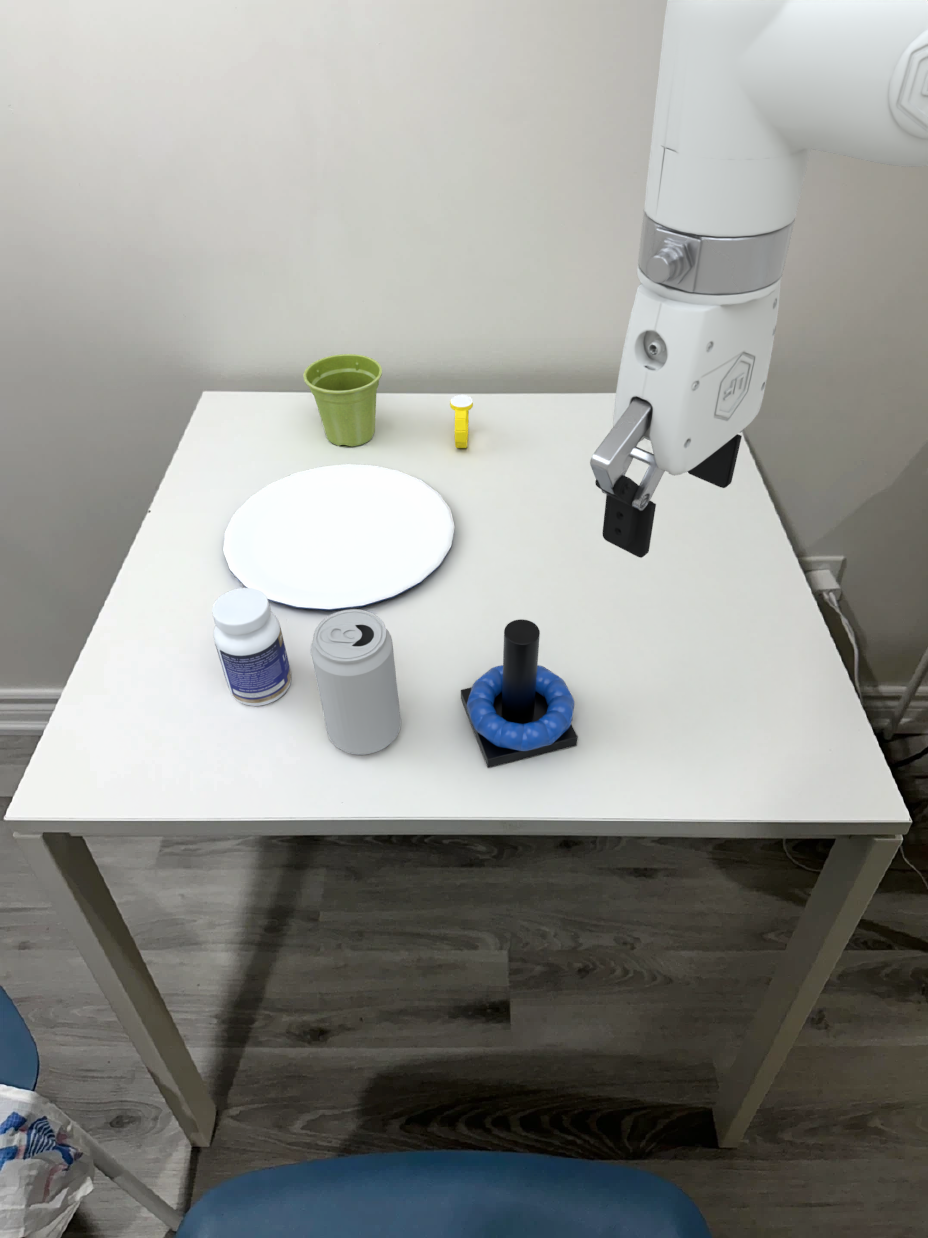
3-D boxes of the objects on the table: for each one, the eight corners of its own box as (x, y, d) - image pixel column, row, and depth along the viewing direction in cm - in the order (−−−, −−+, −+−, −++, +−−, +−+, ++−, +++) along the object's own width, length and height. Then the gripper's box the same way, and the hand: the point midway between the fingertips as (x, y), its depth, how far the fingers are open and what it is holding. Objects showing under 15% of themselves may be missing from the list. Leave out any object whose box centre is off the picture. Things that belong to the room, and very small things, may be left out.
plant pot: (299, 432, 108) (288, 369, 102) (360, 407, 112) (354, 345, 106) (339, 464, 103) (330, 400, 97) (402, 437, 107) (397, 374, 101)
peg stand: (544, 678, 78) (551, 588, 70) (577, 745, 72) (589, 656, 65) (460, 698, 76) (458, 608, 69) (487, 768, 71) (488, 679, 63)
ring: (550, 665, 78) (551, 648, 76) (588, 740, 71) (591, 724, 70) (455, 687, 76) (455, 670, 74) (486, 766, 70) (486, 750, 68)
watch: (452, 429, 108) (451, 387, 104) (474, 429, 108) (474, 387, 104) (449, 455, 104) (448, 412, 100) (472, 456, 104) (471, 413, 100)
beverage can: (398, 760, 72) (388, 664, 63) (322, 759, 72) (302, 663, 63) (404, 702, 76) (394, 605, 68) (332, 701, 76) (314, 604, 68)
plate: (183, 594, 87) (180, 585, 86) (278, 459, 104) (276, 450, 103) (419, 634, 82) (418, 625, 81) (477, 486, 100) (477, 477, 99)
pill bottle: (304, 685, 78) (288, 606, 71) (251, 718, 75) (228, 640, 68) (269, 652, 81) (250, 573, 74) (217, 683, 78) (191, 604, 71)
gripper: (682, 326, 38) (639, 604, 50) (856, 217, 47) (784, 476, 59) (551, 283, 42) (541, 550, 54) (735, 189, 51) (691, 437, 63)
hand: (668, 511), depth 56 cm, fingers open, 9 cm apart
